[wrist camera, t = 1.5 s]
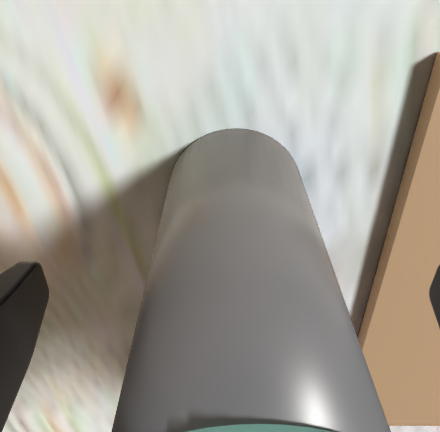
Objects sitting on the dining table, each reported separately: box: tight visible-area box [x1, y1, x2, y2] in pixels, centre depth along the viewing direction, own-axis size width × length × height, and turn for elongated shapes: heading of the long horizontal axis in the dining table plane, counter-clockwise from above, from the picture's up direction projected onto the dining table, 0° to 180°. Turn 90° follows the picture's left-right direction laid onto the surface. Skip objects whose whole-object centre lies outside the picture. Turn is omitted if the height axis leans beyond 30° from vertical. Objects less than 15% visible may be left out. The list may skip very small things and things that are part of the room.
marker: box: [112, 129, 391, 432], centre depth 8 cm, size 4×4×10 cm
